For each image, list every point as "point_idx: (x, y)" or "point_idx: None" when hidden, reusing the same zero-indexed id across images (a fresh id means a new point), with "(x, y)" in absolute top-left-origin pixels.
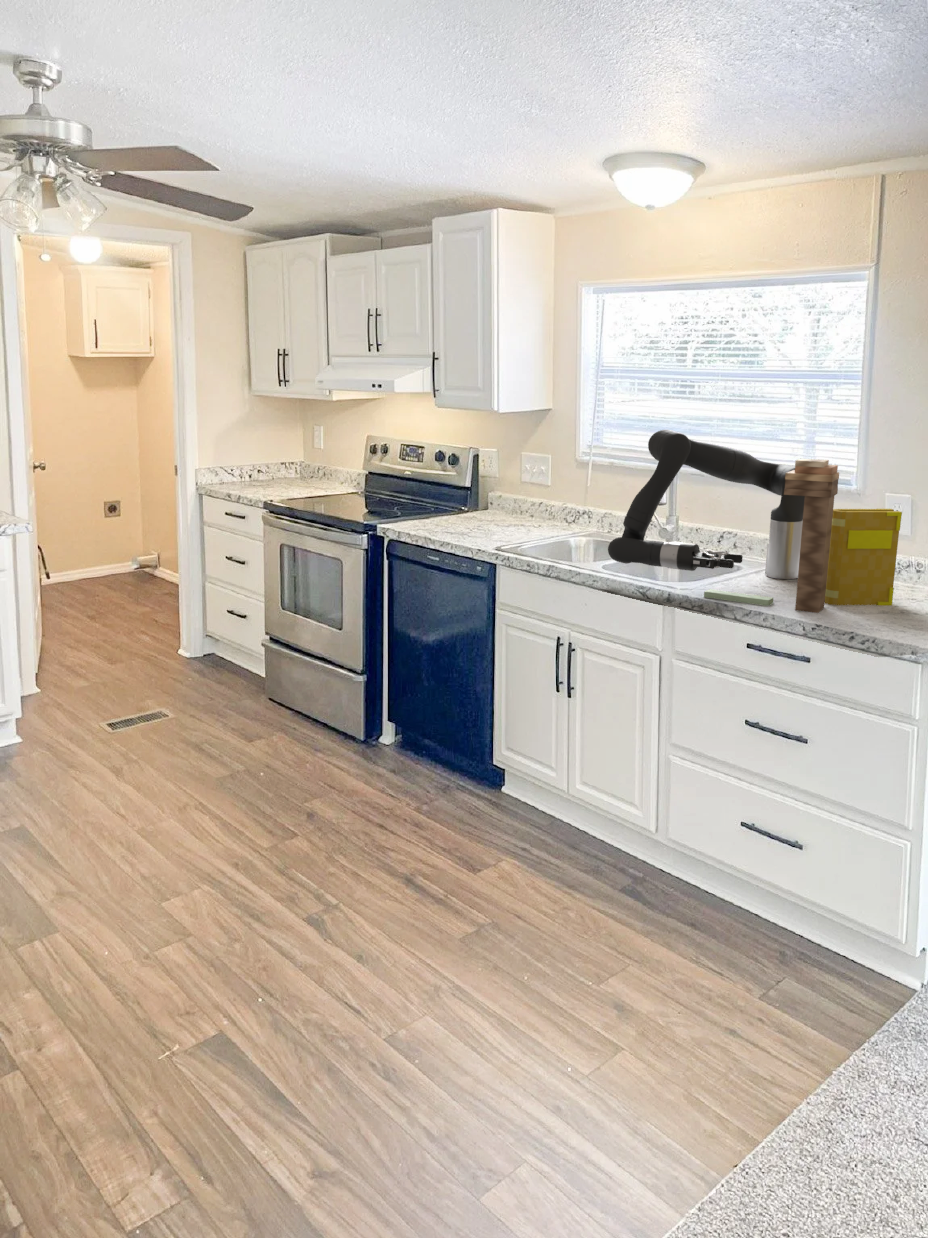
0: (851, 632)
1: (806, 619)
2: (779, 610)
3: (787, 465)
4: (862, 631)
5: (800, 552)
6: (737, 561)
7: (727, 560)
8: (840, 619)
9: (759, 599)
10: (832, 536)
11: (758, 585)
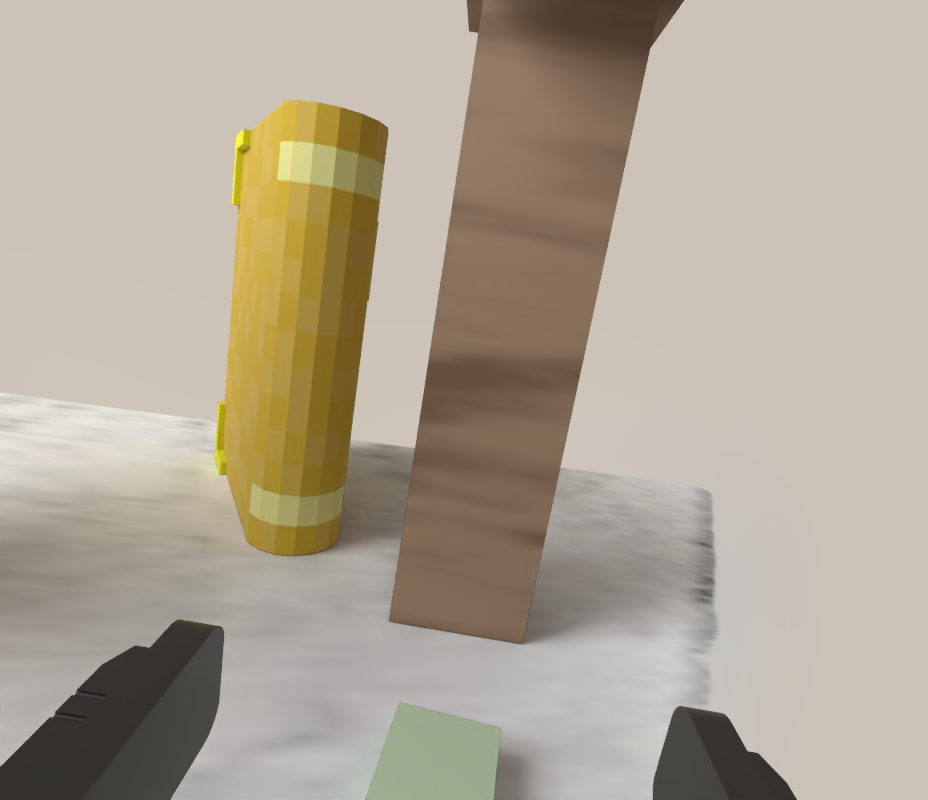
0: (704, 544)
1: (655, 618)
2: (571, 702)
3: None
4: (667, 528)
5: (584, 353)
6: (187, 756)
7: (757, 794)
8: (565, 546)
9: (493, 786)
10: (352, 250)
11: None
